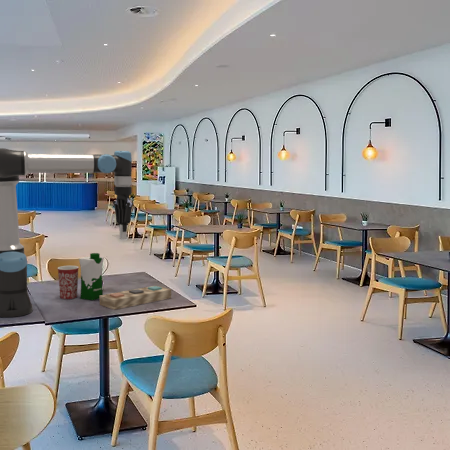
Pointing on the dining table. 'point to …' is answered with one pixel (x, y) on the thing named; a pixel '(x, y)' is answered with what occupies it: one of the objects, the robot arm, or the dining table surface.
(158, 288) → the teal button
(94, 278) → the milk carton
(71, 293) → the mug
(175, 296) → the dining table surface
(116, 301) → the oak button console
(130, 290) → the charcoal button
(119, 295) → the terracotta button
